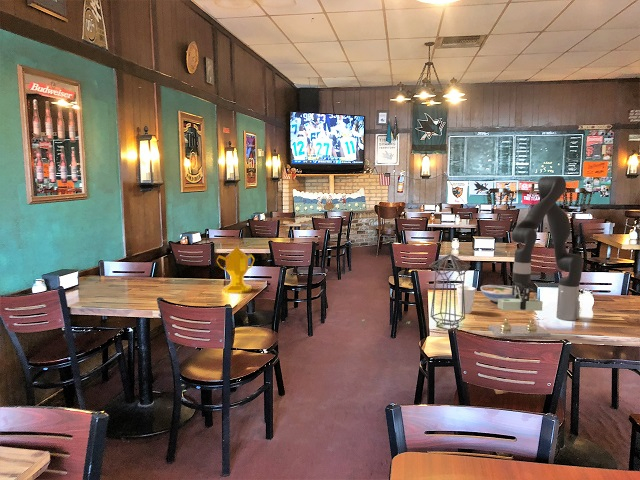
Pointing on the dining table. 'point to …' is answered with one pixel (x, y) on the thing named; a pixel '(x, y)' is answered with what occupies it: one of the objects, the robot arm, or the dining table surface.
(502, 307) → the bar
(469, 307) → the foam cup
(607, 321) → the dining table surface
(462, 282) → the geometric lantern
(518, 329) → the board with brass pegs
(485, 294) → the ramen bowl
